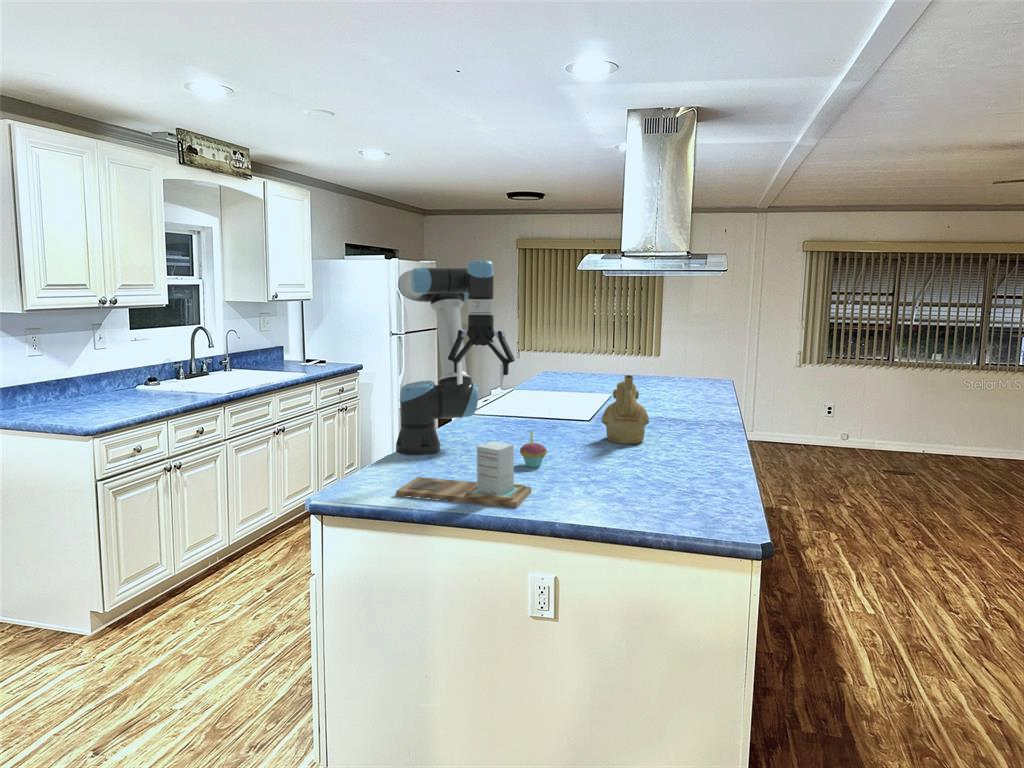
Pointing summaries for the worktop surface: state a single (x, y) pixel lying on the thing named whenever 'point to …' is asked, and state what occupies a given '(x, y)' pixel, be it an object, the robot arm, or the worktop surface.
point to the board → (462, 492)
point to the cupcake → (533, 453)
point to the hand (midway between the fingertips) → (481, 385)
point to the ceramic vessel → (625, 415)
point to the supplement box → (495, 468)
